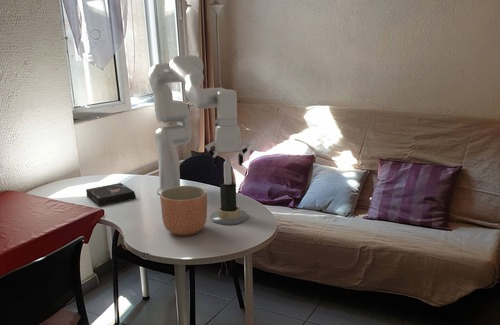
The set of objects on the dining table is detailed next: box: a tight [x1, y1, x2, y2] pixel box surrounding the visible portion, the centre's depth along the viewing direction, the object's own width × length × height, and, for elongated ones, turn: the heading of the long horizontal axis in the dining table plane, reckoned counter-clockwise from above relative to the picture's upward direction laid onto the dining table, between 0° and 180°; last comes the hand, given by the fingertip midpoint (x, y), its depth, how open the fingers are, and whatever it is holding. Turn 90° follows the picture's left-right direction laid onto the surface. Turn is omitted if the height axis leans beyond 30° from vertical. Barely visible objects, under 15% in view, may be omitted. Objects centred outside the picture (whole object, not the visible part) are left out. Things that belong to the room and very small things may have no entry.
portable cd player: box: [85, 182, 137, 207], centre depth 204 cm, size 16×17×4 cm
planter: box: [159, 185, 208, 237], centre depth 165 cm, size 17×17×15 cm
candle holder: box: [210, 204, 249, 226], centre depth 179 cm, size 15×15×4 cm
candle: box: [219, 154, 237, 212], centre depth 176 cm, size 5×5×25 cm
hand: (228, 165), depth 174 cm, fingers open, 9 cm apart
